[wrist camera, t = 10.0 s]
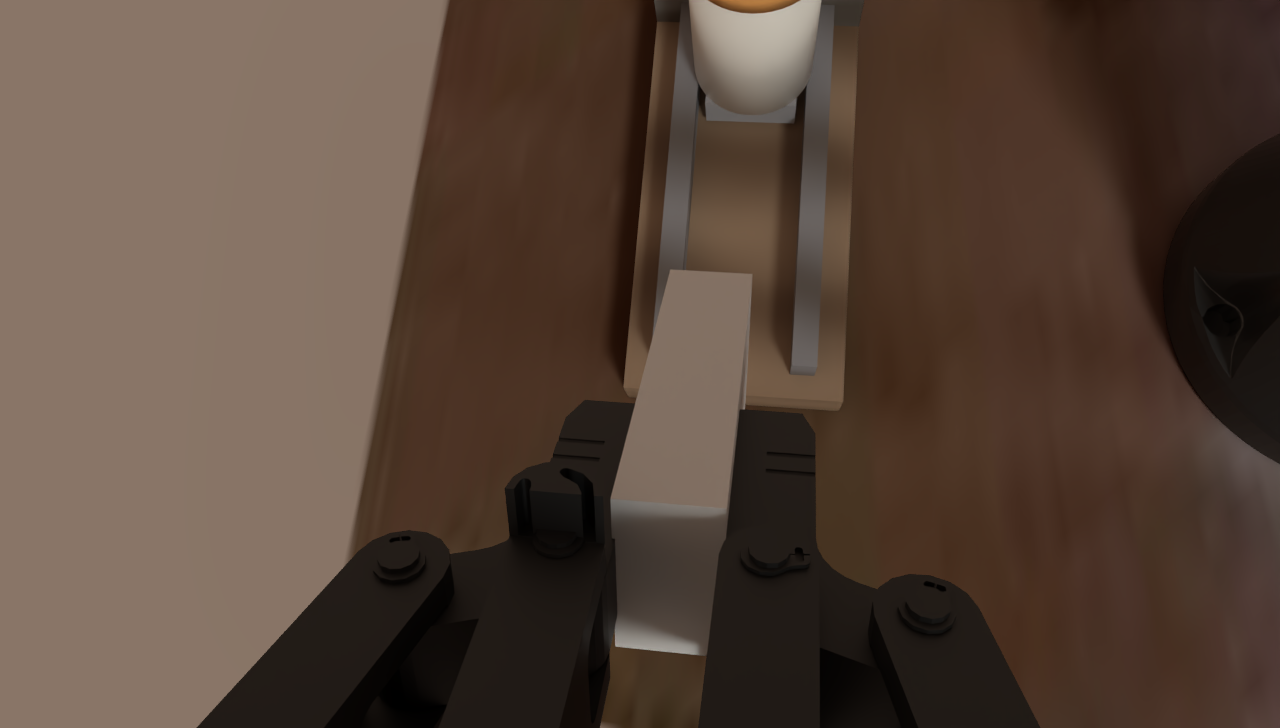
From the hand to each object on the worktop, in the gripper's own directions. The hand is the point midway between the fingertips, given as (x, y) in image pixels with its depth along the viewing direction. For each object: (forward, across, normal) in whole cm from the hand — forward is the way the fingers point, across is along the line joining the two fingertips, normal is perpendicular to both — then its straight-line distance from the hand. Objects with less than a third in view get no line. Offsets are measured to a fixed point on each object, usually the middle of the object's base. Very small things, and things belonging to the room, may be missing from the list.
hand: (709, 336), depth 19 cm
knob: (+28, 0, -3) cm, 28 cm away
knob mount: (+27, 0, -8) cm, 28 cm away
